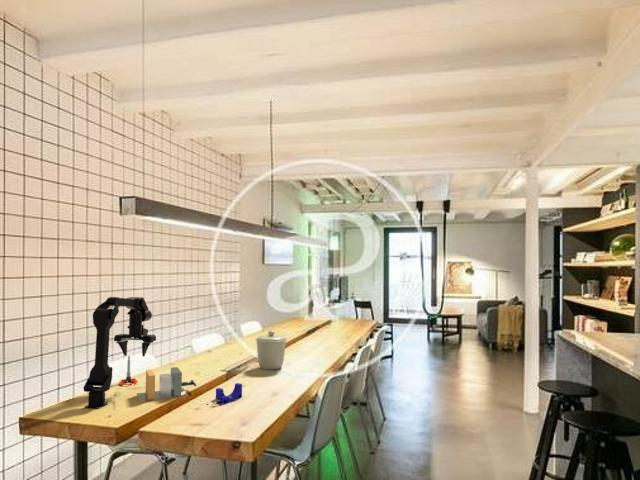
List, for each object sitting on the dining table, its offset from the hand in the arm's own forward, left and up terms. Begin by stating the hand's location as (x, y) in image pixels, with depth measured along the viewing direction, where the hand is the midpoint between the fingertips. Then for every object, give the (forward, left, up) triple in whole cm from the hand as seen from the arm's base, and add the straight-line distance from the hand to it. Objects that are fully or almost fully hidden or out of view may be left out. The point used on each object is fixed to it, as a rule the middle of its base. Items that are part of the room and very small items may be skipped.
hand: (134, 356), depth 212 cm
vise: (-13, -22, -15) cm, 30 cm away
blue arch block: (-12, -52, -15) cm, 55 cm away
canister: (+50, -55, -15) cm, 76 cm away
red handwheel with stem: (+6, +6, -15) cm, 17 cm away
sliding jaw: (-17, -17, -13) cm, 27 cm away
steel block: (-13, -22, -13) cm, 29 cm away
